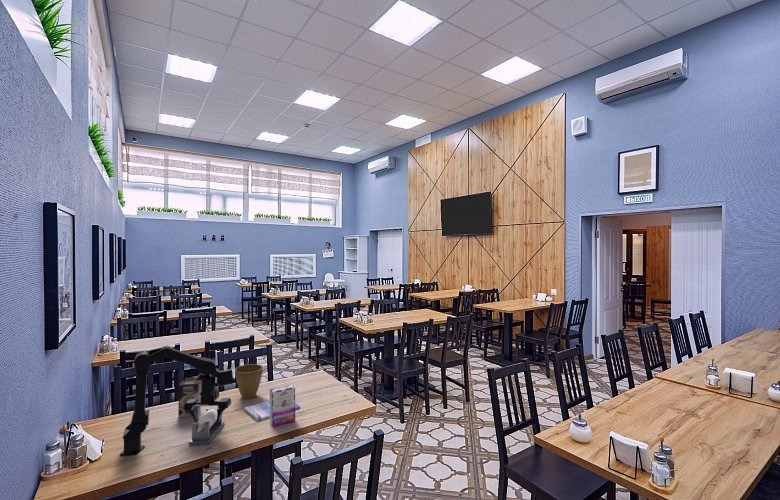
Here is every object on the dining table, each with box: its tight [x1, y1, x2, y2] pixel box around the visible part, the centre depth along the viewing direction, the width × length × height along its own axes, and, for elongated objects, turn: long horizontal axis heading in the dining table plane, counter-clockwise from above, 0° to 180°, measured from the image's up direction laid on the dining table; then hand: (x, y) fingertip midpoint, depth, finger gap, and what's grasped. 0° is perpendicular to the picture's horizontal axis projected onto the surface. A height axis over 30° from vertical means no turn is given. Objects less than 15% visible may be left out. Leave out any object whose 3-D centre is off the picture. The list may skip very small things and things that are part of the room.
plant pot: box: [234, 363, 264, 400], centre depth 209 cm, size 15×15×16 cm
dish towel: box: [244, 400, 301, 422], centre depth 192 cm, size 17×24×3 cm
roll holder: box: [188, 407, 225, 447], centre depth 166 cm, size 19×8×8 cm, turn 5°
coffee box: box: [177, 379, 202, 418], centre depth 186 cm, size 9×6×16 cm
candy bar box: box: [269, 384, 296, 427], centre depth 178 cm, size 11×5×16 cm, turn 123°
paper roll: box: [197, 408, 217, 432], centre depth 166 cm, size 18×6×6 cm, turn 5°
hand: (207, 422), depth 166 cm, fingers open, 9 cm apart
